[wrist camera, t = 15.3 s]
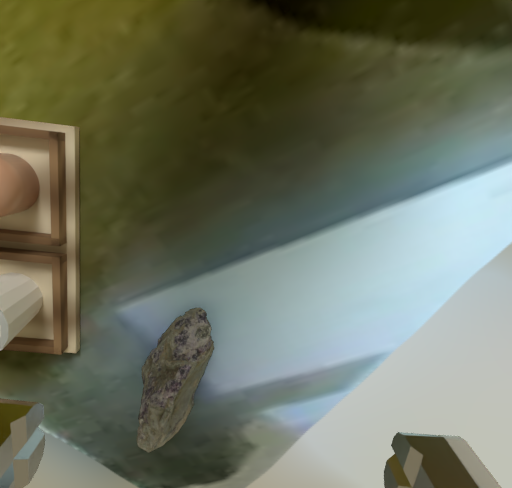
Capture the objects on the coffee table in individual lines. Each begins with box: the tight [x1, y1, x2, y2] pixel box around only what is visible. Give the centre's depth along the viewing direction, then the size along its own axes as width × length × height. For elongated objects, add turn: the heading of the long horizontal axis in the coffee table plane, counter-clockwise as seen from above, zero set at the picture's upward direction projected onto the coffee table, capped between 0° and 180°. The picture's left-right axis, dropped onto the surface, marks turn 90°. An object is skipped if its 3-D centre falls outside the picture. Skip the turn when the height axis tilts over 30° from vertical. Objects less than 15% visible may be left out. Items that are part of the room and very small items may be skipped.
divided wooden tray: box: [0, 117, 80, 354], centre depth 37 cm, size 25×13×2 cm, turn 173°
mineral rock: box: [137, 308, 214, 452], centre depth 37 cm, size 13×11×10 cm
